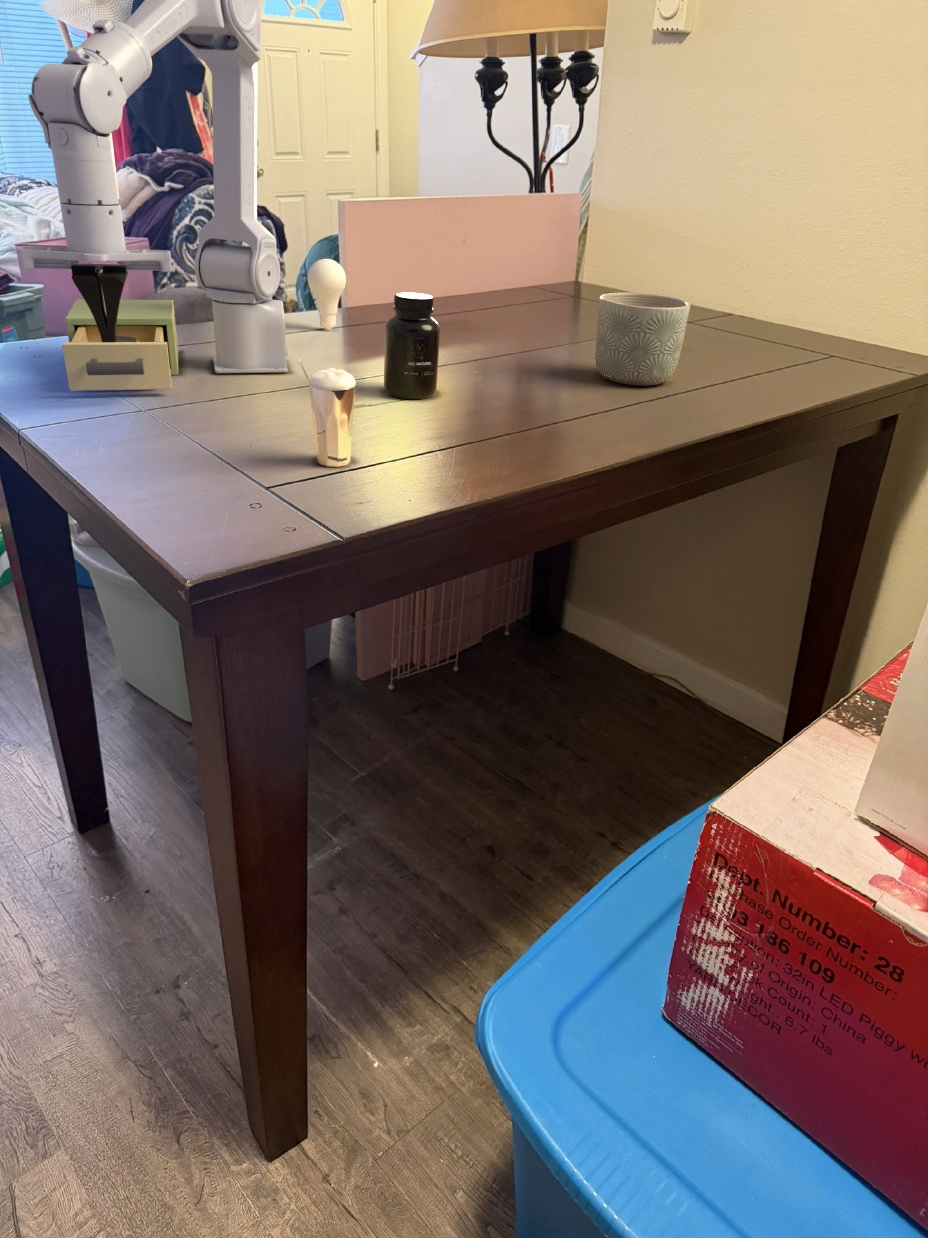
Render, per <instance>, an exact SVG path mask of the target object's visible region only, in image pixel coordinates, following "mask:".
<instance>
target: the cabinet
mask: <svg viewBox="0 0 928 1238" xmlns="http://www.w3.org/2000/svg"><path fill="white" fill-rule="evenodd" d="M104 307H105V302H104ZM105 312H106V308H105ZM64 321H65V325H66V332H67V338H68V342H71V341H72V339H73V337H74V335H75V333H76V331H77V329H78V327H79V325H97V324H96V322H95V319H94V317H93V315H92V313H91V311H90V309H89V307H88V305H87V303H86V301H85V299H84V298H82V299H81V298H75V301H74V303H73V304H72V306H71V308H70V309H69V311H68V313H67V314H66V317H65V319H64ZM117 325H163V332H164V341H165V342H167V346H168V355H169V364H170V374H171V376H178V375H179V345H178V344H179V343H178V336H177V335H178V333H177V326H176V325H177V324H176V314H175V307H174V299H120V304H119V309H118V316H117Z"/></svg>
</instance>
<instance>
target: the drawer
mask: <svg viewBox="0 0 928 1238" xmlns="http://www.w3.org/2000/svg"><path fill="white" fill-rule="evenodd" d="M117 336H125V337H133V338H136V339H137V341H139V342H101V341H102V339H101V335H100V332H99V329H98V326H97V325H79V327H78V329H77V331H76V333H75V335H74V337H73V339H72V341H71V342H69V341H67V342H66V341H64V342H62V344H61V348H62V354H63V359H64V365H65V371H66V378H67V383H68V389H69V391H70V392H75V391H76V392H84V391H86V392H87V391H137V390H138V391H139V390H141V391H142V390H144V391H145V390H172V389H173V384H172V383H173V382H172V375H171V374H170V364H169V355H168V346H167V342H165V341H164V332H163V325H117Z"/></svg>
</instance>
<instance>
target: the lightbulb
mask: <svg viewBox="0 0 928 1238" xmlns="http://www.w3.org/2000/svg"><path fill="white" fill-rule="evenodd" d="M307 283H308V286H309V288H310V291H311V292H312V295H313V296H314V298H315V301H316V305H317V312H318V315H319V322H320V323H319V325H320V326H321V327H322V328H324V330H326V331H331V330H332V329H333V328H335V327H336V324H337V314H338V307H339V301H340V298H341V297H342V294H343V292H344V291H345V288H346V283H347V276H346V272H345V270H344V268H343V267H342V266H341V264H339V263H338V262H337V261H335V260H334V259H330V258H322V259H321V258H320V259H319V260H316V261H315V262H314V263H312V265H310V268H309V270H308V272H307Z"/></svg>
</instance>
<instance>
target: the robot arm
mask: <svg viewBox="0 0 928 1238" xmlns="http://www.w3.org/2000/svg"><path fill="white" fill-rule="evenodd" d="M91 28H92V29H93V33H92V34H91V35H90V36H88V37H87V38H86V39H85V40H84V41H82V43H81V44H80V45H78V46H71V47H70V48H69V49H68V50H67V51H66V57H65V58H64V59H63V61H62V63H46V64H43V65H42V66H41V67H39V69H38V71H37V72H36V73H35V75H34V76H33V79H32V82H31V94H28V95H27V98H28V101H29V105H30V108H31V110H32V112H33V114H34V116H35V118H36V119H37V121H38V122H39V124H40V126H41V128H42V131H43V135H44V142H45V144H47V147H48V149H50V150H51V155H52V160H53V166H54V173H55V180H56V186H57V191H58V199H59V205H60V211H61V218H62V225H63V231H64V237H65V244H66V246H22V247H21V248H19V256H20V260H21V266H22V269H23V270H32V271H33V270H35V269H36V270H37V269H43V270H45V269H46V270H71V276H70V277H71V280H72V282H73V283H74V285H75V287H76V288H77V290H78V292H79V293H80V295H81V297H82V299H85V301H86V303H87V305H88V307H89V309H90V311H91V313H92V315H93V317H94V319H95V322H96V324H97V326H98V329H99V332H100V335H101V339H102V342H116V340H117V316H118V309H119V304H120V300H122V295H123V291H124V287H125V284H126V281H127V278H128V274H129V272H128V271H147V272H148V271H150V272H153V271H157V272H162V273H172V271H173V267H172V256H171V250H167V249H166V250H165V249H164V250H163V249H147V248H130V247H127V246H126V238H125V231H124V230H125V229H124V222H123V214H122V208H121V200H120V192H119V183H118V175H117V166H116V160H115V149H114V142H113V135H112V133H113V132H114V131H118V130H119V128H120V126H121V123H122V119H123V110H124V106H125V105H126V103H127V100H128V99H129V98H130V97H131V96H132V95H133V94H134V93H135V92H136V90H138V89H139V88H140V87H141V86H142V84H144V83H145V82H146V81H147V80H148V79H149V77H150V76H151V74H152V71H153V60H152V56H154V55H155V54H156V53H157V52H159V51H160V50H162V48H164V47H165V46H166V45H167V44H169V43H170V42H171V41H172V40H174V39H175V38H176V37H177V39H178V40H179V41H180V42H181V43H182V44H183V45H184V46H185V47H186V48H187V49H188V50H189V51H190V52H191V54H193V56H194V57H196V58H197V59H199V60H201V61H203V62H204V64H205V65H206V66H207V68H208V70H209V71H210V73H211V99H212V100H211V101H212V102H211V105H212V106H211V109H212V162H213V163H212V167H213V169H212V173H213V174H212V175H213V216H212V218H211V219H210V220H209V221H207V222H206V224H204V225H203V226H202V227H201V228H200V229H199V230H198V244H197V250H196V253H195V256H194V262H193V265H194V267H193V268H194V275H195V277H196V281H197V282H198V285H199V286H200V288H201V289H202V290H203V291H205V295H206V296H205V297H206V299H211V308H212V319H213V320H212V321H213V332H214V333H213V334H214V344H215V356H213V357H212V360H213V369H214V373H216V374H259V373H261V374H262V373H264V374H265V373H269V374H270V373H288V360H287V359H288V358H287V357H288V345H287V340H286V339H287V337H286V336H287V335H286V319H285V318H286V317H285V310H284V309H285V307H284V303H283V300H280V299H273V297H274V295H275V294H276V292H277V291H278V288H279V286H280V282H281V266H280V265H281V264H280V261H279V258H278V251H277V239H276V238H275V236H274V235H273V234H272V233H271V232H270V231H269V230H268V229H266V227H264V226H263V224H261V223H260V221H258V217H257V216H258V211H257V210H258V191H257V190H258V62H259V61H260V60H261V59H262V1H261V0H143V2H142V3H141V4H140V5H139V6H138V7H137V9H136V10H135V11H134V12H133V13H132V14H131V15H130V17H129V18H128V19H127V20H126V21H125V22H124V23H123V22H122V21H118V20H111V19H97V20H96V21H95V22H94V23H93V24H92V27H91ZM230 241H233V242H240V243H244V244H245V243H246V244H247V246H246V245H240V244H239V245H238V244H229V243H228V242H230ZM81 262H86V263H81ZM87 262H88V263H87ZM101 271H102V272H101ZM104 302H105V307H104ZM105 308H106V312H105Z"/></svg>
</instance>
